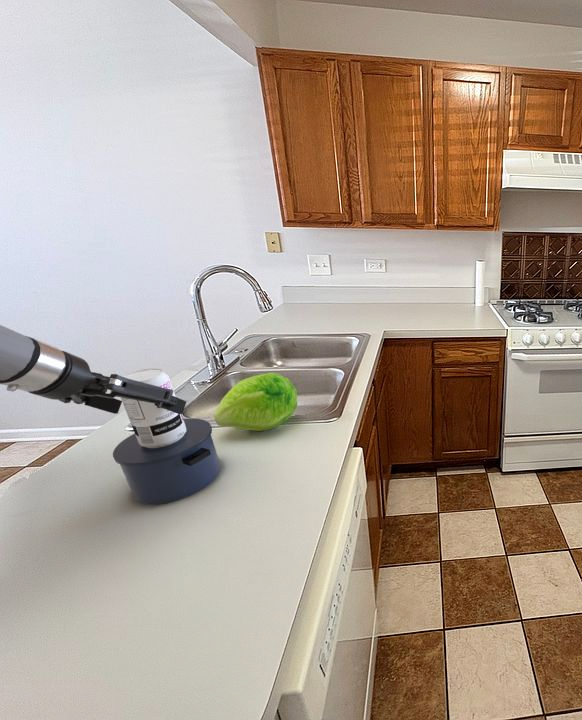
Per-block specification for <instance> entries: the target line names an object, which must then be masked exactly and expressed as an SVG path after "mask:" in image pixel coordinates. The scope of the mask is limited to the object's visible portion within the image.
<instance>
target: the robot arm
mask: <svg viewBox="0 0 582 720" xmlns="http://www.w3.org/2000/svg"><path fill="white" fill-rule="evenodd" d="M122 376H123V375H119V374H117V373H111V374H110V375H109V376H107V375H103V374H102V373H100V372H95V371H92V370H91V368H90V365H89V363H88V362H87V361H86V360H85V359H84V358H82V357H80V356H77V355H74V354H72V353H70V352H68V351H65V350H61V349H60V348H58V347H57V346H53V345H52V344H49V343H46V342H44V341H42V340H39V339H37V338H34V337H31V336H28V335H24V334H22V333H20V332H18V331H15V330H13V329H11V328H9V327H6V326H3V325H1V324H0V385H4V386H6V391H7V392H8V391H9V392H11V393H12V392H15V391H17V390H18V391H19V390H20V391H23V392H27V393H29V394H32V395H34V396H39V397H42V398H45V399H49V400H53V401H54V400H55V401H57V400H58V402H59V401H60V402H61V403H64V404H70V403H71V402H73V403H74V404H76V405H84V406H87V407H91V408H93V409H97V410H100V411H104V412H107V413H111V414H114V415H116V414H118V413H119V411H120V409H121V406H122V404H123V402H122V400H120V399H121V398H127V399H133V400H138V401H144V402H149V403H155V406H157V408H163V409H166V410H169V411H172V412H175V413H177V414H182V415H184V411H185V408H186V406H187V405H186V404H187V400H184V399H182V398H179V397H177V396H176V395H175V396H176V397H175V396H172V393H173V390H174V389H173V390H171V389H166V388H162V387H159V386H155V385H151V384H147V383H143V382H139V381H135V380H131V379H128V378H125V377H122ZM108 391H110V393H107V392H108ZM116 397H117V398H120V399H117V398H116Z"/></svg>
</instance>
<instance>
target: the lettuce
mask: <svg viewBox="0 0 582 720" xmlns="http://www.w3.org/2000/svg"><path fill="white" fill-rule="evenodd" d="M297 407H298V390H297V389H296V387H295V386H294V385H293V383H292V382H291V381H290V379H289V378H287V377H285V376H283V375H282V374H280V373H278V372H263V373H259V374H256V375H252V376H248V377H246V378H243V379H241V380H239V381H238V382H236V384H234V385H233V386H232V387H231V389H229V390H228V391H227V392H226V394H225V395H224V396H223V397H222V399H221V400H220V402H219V403H218V405H217V406H216V408H215V410H214V413H213V418H214V421H215V424H216V425H217V426H219V427H229V428H234V429H239V430H246V431H257V432H261V431H269V430H272V429H274V428H276V427H278V426H280V425H282V424H285V422H286V421H288V420H289V419H290V418H291V417H292V416H293V415H294V413H295V411H296V409H297Z"/></svg>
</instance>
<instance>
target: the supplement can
mask: <svg viewBox="0 0 582 720" xmlns="http://www.w3.org/2000/svg"><path fill="white" fill-rule="evenodd" d="M121 376H122V377H125V378H128V379H131V380H135V381H139V382H143V383H147V384H151V385H155V386H159V387H162V388H166V389H171V390H173V393H172V396H175V397H177V396H176V393H175V390H174V387H173V384H172V381H171V379H170V376H169V375H168V374H167V373H165V371H164V370H163V369H162V368H157V367H156V368H155V367H154V368H145V369H144V368H143V369H139V370H135V371H132V372H129V373H126V374H124V375H121ZM120 399H121V401H122V404H123V407H124V410H125V412H126V415H127V417H128V419H129V422H130V425H131V427H132V430H133V432H134V433H133V434H135V435H136V438H137V440H138V443H139V444H140V445H141V446H144V447H147V448H158V447H163V446H167V445H170V444H172V443H174V442H176V441H178V440H179V439H181V438H182V437H183V435H184V434H185V432H186V426H185V423H184V420H183V419H184V417H183V414H177V413H175V412H172V411H169V410H166V409H163V408H157V406H155V403H149V402H144V401H138V400H133V399H127V398H121V397H120Z"/></svg>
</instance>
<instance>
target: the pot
mask: <svg viewBox="0 0 582 720" xmlns="http://www.w3.org/2000/svg"><path fill="white" fill-rule="evenodd" d="M183 420H184V423H185V426H186V432H185V434H184V435H183V437H182V438H181V439H179V440H178V441H176V442H174V443H172V444H170V445H167V446H163V447H158V448H147V447H144V446H141V445H140V444H139V443H138V440H137V438H136V435H135V433H133V434H130V435H129V436H127V437H126V438H124V439H123V440H122V441H120V442H119V443H118V444H117V445H116V446H115V448H114V449H113V451H112V458H113V460H114V462H115V463H116V464H118V465H119V466H120V468H121V470H122V472H123V475H124V476H125V480H126V481H127V484H128V487H129V489H130V491H131V493H132V496H133V498H134V500H135V501H136V502H138V503H139V504H142V505H148V506H150V505H151V506H152V505H153V506H156V505H164V504H168V503H174V502H175V501H176V502H177V501H179V500H182V499H185V498H188V497H190V496H192V495H194V494H196V493H198V492H199V491H201V490H203V489H204V488H206V487H207V486H209V485H210V484H211V483H213V481H214V480H215V479H217V477H218V476H219V474H220V472H221V469H222V467H221V462H220V460H219V455H218V453H217V450H216V446H215V443H214V439H213V437H212V432H213V428H212V425H211V423H210V422H209V421H208V420H205V419H203V418H195V417H193V418H192V417H191V418H183Z"/></svg>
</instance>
